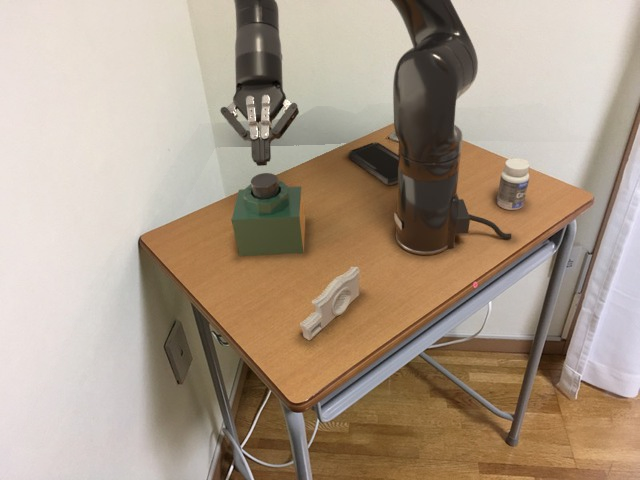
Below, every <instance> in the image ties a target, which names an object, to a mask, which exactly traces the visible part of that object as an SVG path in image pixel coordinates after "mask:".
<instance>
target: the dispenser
mask: <svg viewBox="0 0 640 480" xmlns="http://www.w3.org/2000/svg"><path fill="white" fill-rule="evenodd" d="M278 184H279V194H278V195H277V196H276V197H273V198H270V199H262V200H260V199H257V198H255V197H254V196H253V192H252V186H251V183H250V184H249V185H247V186H246V187H245V188H243V189H238V192H237V196H236V200H235V204H234V209H233V212H232V217H231V224H232V229H233V233H234V238H235V243H236V247H237V252H238V257H253V256H255V257H256V256H273V255H296V254H304V253H305V235H306V234H305V233H306V216H305V214H306V213H305V206H304V197H303V188H302V186H301V185H300V186H299V185H298V186H288V185H287V184H286V183H285V182H284V181H283V180H279V179H278Z"/></svg>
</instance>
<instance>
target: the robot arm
mask: <svg viewBox="0 0 640 480" xmlns="http://www.w3.org/2000/svg"><path fill="white" fill-rule="evenodd" d="M390 2H391V3H392V4H393V6H394V7H395V9H396V10H397V12H398V13H399V15H400V17H401V19H402V21H403V24H404V26H405V28H406V30H407V33H408V36H409V38H410V41H411V44H412V47H411V48H410V49H408V50H407V51H405V52H404V53H403V54H402V55H401V56H400V58H399V60H398V61H397V63H396V65H395V69H394V74H393V81H392V82H393V83H392V84H393V85H392V100H393V101H392V103H393V104H392V105H393V106H392V107H393V127H394V132H395V136H396V137H397V140H398V155H399V160H398V183H397V198H396V201H397V202H396V213H394V221H395V223H396V227H395V228H396V229H395V240H396V243H397V245H398V246H399V247H400V248H401V249H402V250H405V251H406V252H408V253H411V254H413V255H418V256H419V255H420V256H433V255H438V254H440V253H442V252H445V251H446V250H447V249H453V248H455V242H456V235H457V234H458V235H459V234H469V228H470V223H471V221H473V222H476V223H480V224H483V225H484V226H487V227H489V228H491V229H492V230H493V231H494V232H495V233H496V235H497V236H499V238H501V239H504V240H509V239H512V233H505V232H503V231H502V230H501V229H500V227H499V226H498V225H497V224H495V223H494V222H493V221H490V220H488V219H486V218H483V217H480V216H476V215H473V214H470V213H469V211H468V208H467V206H466V203H465V200H464V199H463V198H461V199H460V198H459V195H458V193H457V192H458V183H459V182H458V181H459V173H460V165H461V156H462V149H463V148H462V147H463V139H464V138H463V132H462V130H461V129H460V127H458V126H457V125H456V123H455V121H456V108H457V100H458V99H459V98H461V97H462V95H464V94H465V93H466V92H467V91H468V90H469V89H470V88H471V87H472V85H473V84H474V83H475V81H476V78H477V75H478V72H479V61H478V55H477V51H476V48H475V46H474V44H473V42H472V39H471V37H470V36H469V33H468V31H467V30H466V27H465V26H464V24H463V22H462V19H461V18H460V16H459V14H458V11H457V10H456V8H455V5H454V3H453V2H452V0H390ZM233 4H234V9H235V43H234V55H235V56H234V63H235V65H234V66H235V68H234V69H235V93H234V95H233V97H232V102H231V103H230V104H229V105H228V106H222V107H221V108H220V111H219V112H220V113H221V115H222V117H223V118H224V119H225V121H226V122H227V123H228V124H229V125H230V126H231V127H232V129H233V130H234V131H235V132H236V133H237V134H238V135H239V136H240V138H241V139H242V140H243V141H246V142H247V141H248V142H250V143H251V144H250V146H251V147H250V148H251V149H250V150H251V159H252V161H253V162H254V163H255V165H256V166H257V167H259V166H260V167H263V166H267V165H268V162H269V163H270V161H271V159H272V156H271V155H272V154H271V153H272V152H271V143H272V142H273V141H274V140H280V139H281V138H282V137H283V135H284V134H285V133H286V131H287V130H288V129H289V127H290V126H291V125H292V123H293V122H294V120H295V119H296V118H297V117H298V115H299V113H300V111H299V109H300V108H299V106H298V104H297V103H296V102H292V101H290V100H288V99H287V96H286V94H285V92H284V85H283V84H284V82H283V81H284V80H283V54H282V43H281V38H280V13H279V12H280V11H279V5H278V3H277V1H276V0H233ZM237 110H238V112H240V114H241V115H242V116H243V118H245V120H246V121H248V126H249V130H247V129H246V128H245V127H244V125H242V124H241V122H240V121H239V120H238V119H237V118H238V116H239V114H238V112H237ZM281 111H282V113H283V114H282V115H281V117H280V118H279V119H278V121H277V122H276V124H274V126H273V121H274V120H275V119H276V118H277V116H278V115H279V113H280V112H281ZM260 123H261V124H260ZM260 125H261V127H260Z"/></svg>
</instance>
